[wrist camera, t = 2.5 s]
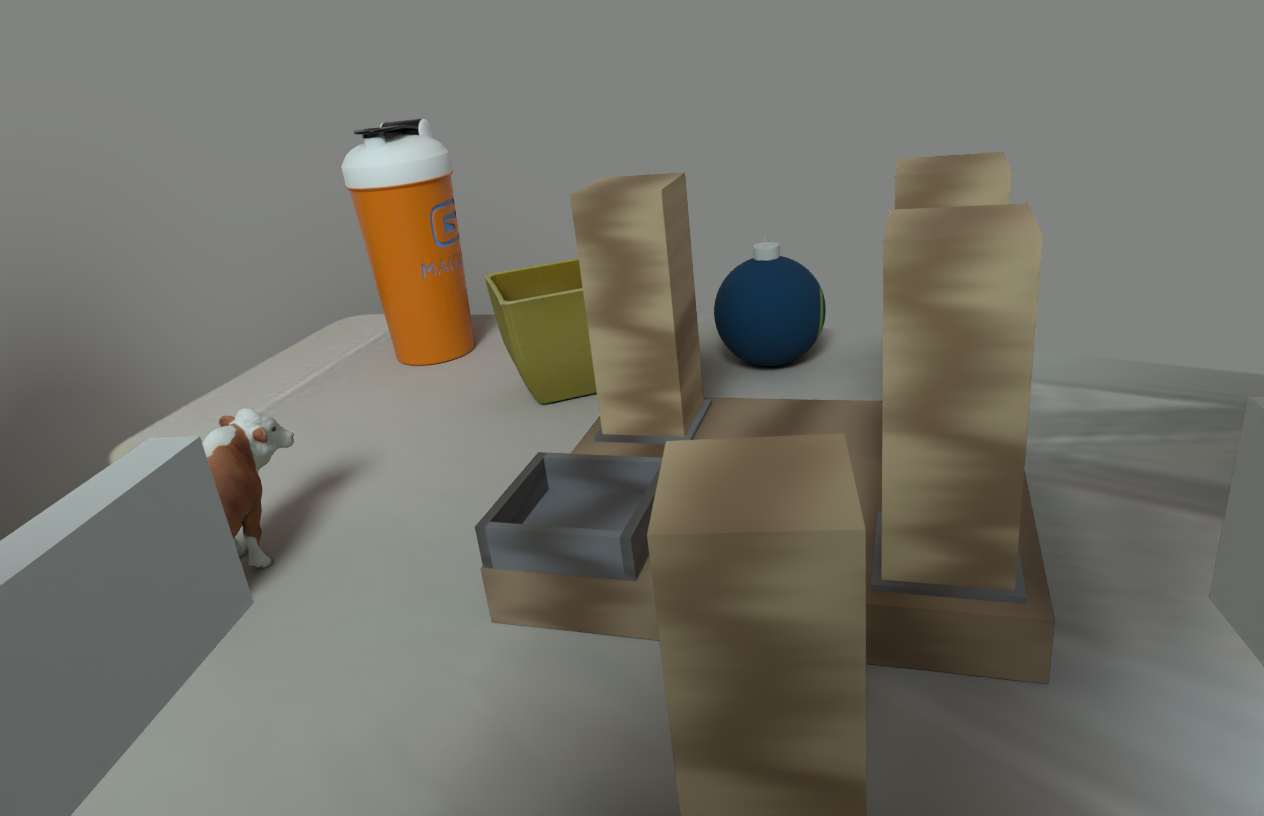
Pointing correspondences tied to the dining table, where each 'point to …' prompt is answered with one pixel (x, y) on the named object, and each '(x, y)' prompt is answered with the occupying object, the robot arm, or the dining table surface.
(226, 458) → the bull figurine
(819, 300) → the christmas ornament
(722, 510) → the stool leg
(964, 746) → the dining table surface
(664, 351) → the tan post-studded fixture
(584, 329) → the flower pot
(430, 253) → the shaker bottle
